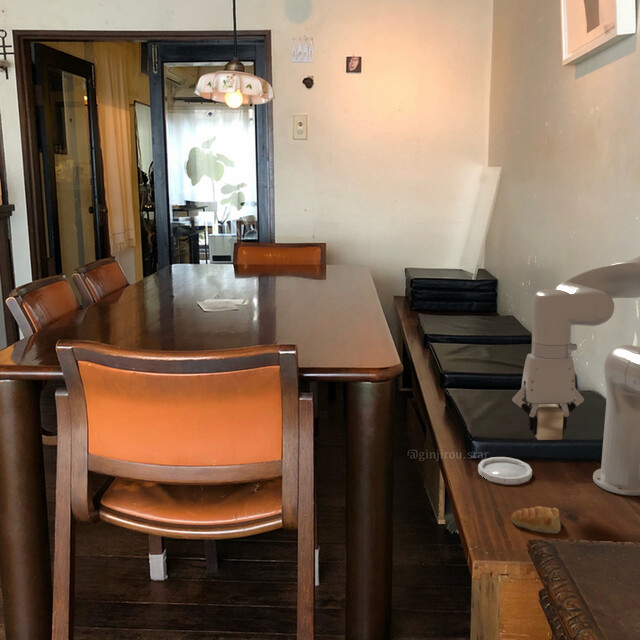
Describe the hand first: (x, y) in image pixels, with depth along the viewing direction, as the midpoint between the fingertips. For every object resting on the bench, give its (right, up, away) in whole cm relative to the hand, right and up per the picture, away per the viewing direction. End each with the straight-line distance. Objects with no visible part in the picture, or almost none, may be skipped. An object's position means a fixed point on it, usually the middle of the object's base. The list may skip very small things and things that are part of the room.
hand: (546, 431), depth 146 cm
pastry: (-4, -18, -8) cm, 20 cm away
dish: (-5, -12, +15) cm, 20 cm away
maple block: (0, -1, 0) cm, 1 cm away
